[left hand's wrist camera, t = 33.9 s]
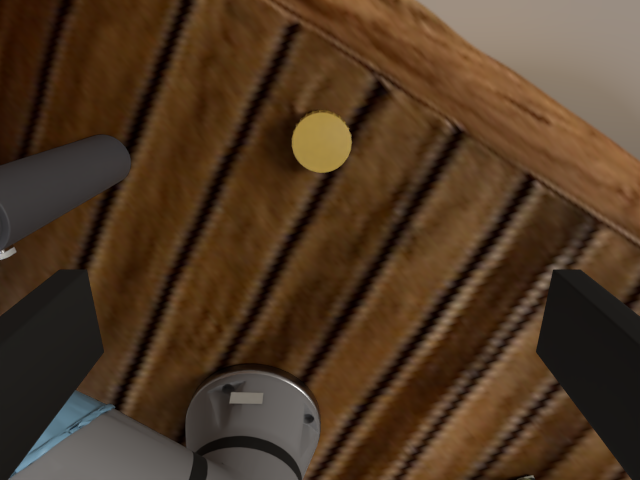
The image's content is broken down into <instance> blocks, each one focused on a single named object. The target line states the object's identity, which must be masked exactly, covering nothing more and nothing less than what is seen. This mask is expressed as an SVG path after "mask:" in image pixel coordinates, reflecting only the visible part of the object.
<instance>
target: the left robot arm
mask: <svg viewBox="0 0 640 480" xmlns="http://www.w3.org/2000/svg"><path fill="white" fill-rule="evenodd" d="M103 353H104V349H103V345H102V340H101V335H100V330H99V326H98V321H97V316H96V311H95V306H94V302H93V297H92V292H91V287H90V283H89V278H88V273H87V270H59V271H57V272H56V273H55V274H53V275H52V276H51V277H50V278H48V279H47V280H46V281H45V282H43V283H42V284H41V285H39V286H38V287H37V288H36V289H34V290H33V291H32V292H31V293H29V294H28V295H27V296H26V297H24V298H23V299H22V300H20V301H19V302H18V303H17V304H15V305H14V306H13V307H12V308H10V309H9V310H8V311H7V312H5V313H4V314H3V315H1V316H0V480H303V477H304V475H305V473H306V470H307V468H308V466H309V463H310V461H311V459H312V456H313V454H314V452H315V449H316V447H317V444H318V441H319V437H320V410H319V406H318V403H317V400H316V399H315V397H314V395H313V393H312V392H311V391H310V389H309V388H308V387H307V386H306V385H305V384H304V383H303V382H302V381H300V380H299V379H298V378H296V377H295V376H293V375H292V374H290V373H288V372H286V371H284V370H281V369H278V368H275V367H271V366H267V365H260V364H243V365H236V366H232V367H228V368H225V369H223V370H220V371H218V372H216V373H214V374H213V375H211V376H210V377H208V378H207V379H206V380H205V381H204V382H203V383H202V384H201V385H200V386H199V387H198V389H197V390H196V392H195V393H194V395H193V398H192V400H191V403H190V405H189V408H188V411H187V415H186V447H184V446H182V445H180V444H179V443H177V442H175V441H173V440H171V439H169V438H167V437H166V436H164V435H162V434H160V433H158V432H156V431H154V430H153V429H151V428H149V427H147V426H145V425H143V424H141V423H140V422H138V421H136V420H134V419H132V418H130V417H129V416H127V415H125V414H123V413H121V412H119V411H118V410H116V409H114V408H115V406H114V405H112V404H104V403H102V402H100V401H98V400H96V399H94V398H91V397H89V396H87V395H85V394H83V393H81V392H78V391H76V389H77V387H78V386H79V385H80V383H81V382H82V381H83V379H84V378H85V377H86V375H87V374H88V373H89V371H90V370H91V369H92V367H93V366H94V365H95V363H96V362H97V361H98V359H99V358H100V357H101V355H102V354H103ZM536 353H537V354H538V355H539V357H540V358H541V359H542V361H543V362H544V363H545V365H546V366H547V367H548V369H549V370H550V371H551V373H552V374H553V375H554V377H555V378H556V379H557V381H558V382H559V383H560V385H561V386H562V387H563V389H564V390H565V391H566V393H567V394H568V395H569V397H570V398H571V399H572V401H573V402H574V403H575V405H576V406H577V407H578V409H579V410H580V411H581V413H582V414H583V415H584V417H585V418H586V419H587V421H588V422H589V423H590V425H591V426H592V427H593V429H594V430H595V431H596V433H597V434H598V435H599V437H600V438H601V439H602V441H603V442H604V443H605V445H606V446H607V447H608V449H609V450H610V451H611V453H612V454H613V455H614V457H615V458H616V459H617V461H618V462H619V463H620V465H621V466H622V467H623V469H624V470H625V471H626V473H627V474H628V475H629V477H630V478H631V479H632V480H640V316H639V315H637V314H636V313H635V312H633V311H632V310H631V309H630V308H628V307H627V306H626V305H625V304H623V303H622V302H621V301H620V300H618V299H617V298H616V297H614V296H613V295H612V294H611V293H609V292H608V291H607V290H606V289H604V288H603V287H602V286H601V285H599V284H598V283H597V282H595V281H594V280H593V279H592V278H590V277H589V276H588V275H587V274H585V273H584V272H583V271H581V270H553V273H552V278H551V283H550V287H549V292H548V297H547V302H546V306H545V311H544V316H543V321H542V326H541V330H540V335H539V340H538V345H537V349H536Z"/></svg>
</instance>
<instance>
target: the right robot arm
mask: <svg viewBox="0 0 640 480" xmlns="http://www.w3.org/2000/svg"><path fill="white" fill-rule="evenodd" d="M14 253H16V250H15V247H14V245H13V244H12V245H10V246H9V247H7V248H5V249H4V250H2V251H0V260H2V259H5V258H7V257H9V256H11V255H13V254H14Z"/></svg>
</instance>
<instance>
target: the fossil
mask: <svg viewBox="0 0 640 480" xmlns="http://www.w3.org/2000/svg"><path fill="white" fill-rule="evenodd" d="M517 480H535V479H534V477H533V475H532V476H527V477H523V478H519V479H517Z"/></svg>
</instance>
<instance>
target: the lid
mask: <svg viewBox="0 0 640 480" xmlns="http://www.w3.org/2000/svg"><path fill="white" fill-rule="evenodd" d="M348 129H349V127H348V126H347V125H346V124H345V121H344V120H342V119H341V118H340V115H337V114H335V113H334V112H330V111H327V110H320V109H319V110H317V111H314V110H313V111H312V112H310V113H308V114H307V113H306V115H305V116H304V117H303V118H302V117H301V119H300V121H299V122H298V123H297V124H296V128H295V129H294V130H293V136H292V138H291V140H292V148H293V153H294V155H295V157H296V159H297V160H298V161H299V163H300V164H301V165H302V166H304V167H305V168H307V169H308V170H311V171H314V172H319V173H324V172H330V171H333V170H335V169H337V168H338V167H340V166H341V165H342V164H343V163H344V162H345V160H346V159H347V157H348V156H349V153H350V150H351V143H352V141H351V133H350V132H349V130H348Z"/></svg>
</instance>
